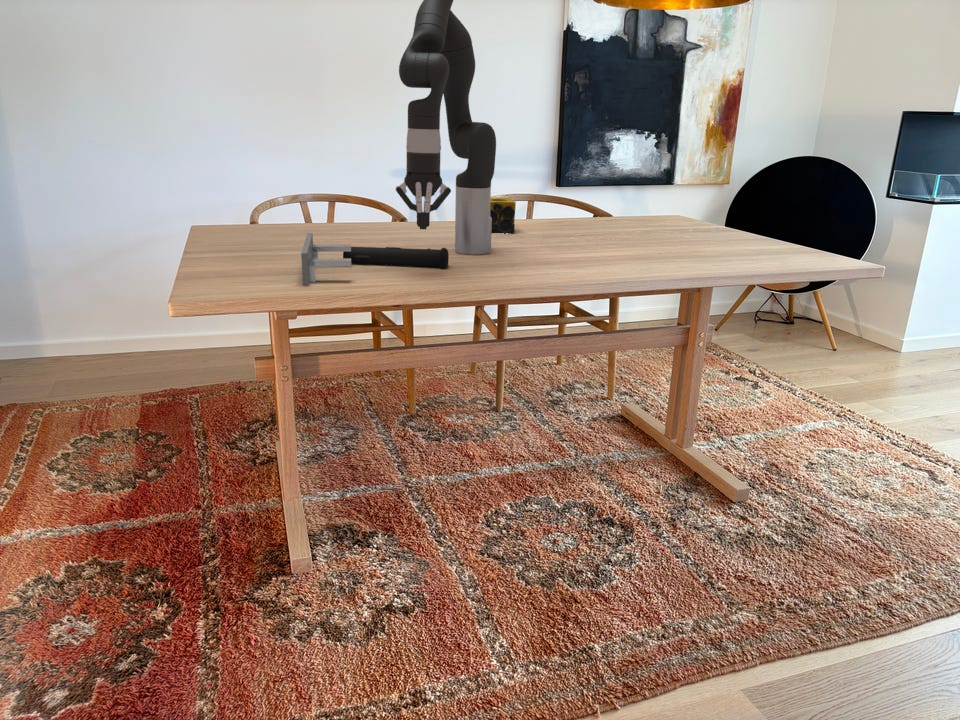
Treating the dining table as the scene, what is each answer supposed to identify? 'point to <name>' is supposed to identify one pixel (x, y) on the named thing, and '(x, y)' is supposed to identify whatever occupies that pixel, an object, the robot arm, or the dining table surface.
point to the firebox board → (306, 258)
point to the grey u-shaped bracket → (327, 262)
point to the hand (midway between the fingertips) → (422, 228)
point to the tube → (398, 256)
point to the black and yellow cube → (502, 215)
